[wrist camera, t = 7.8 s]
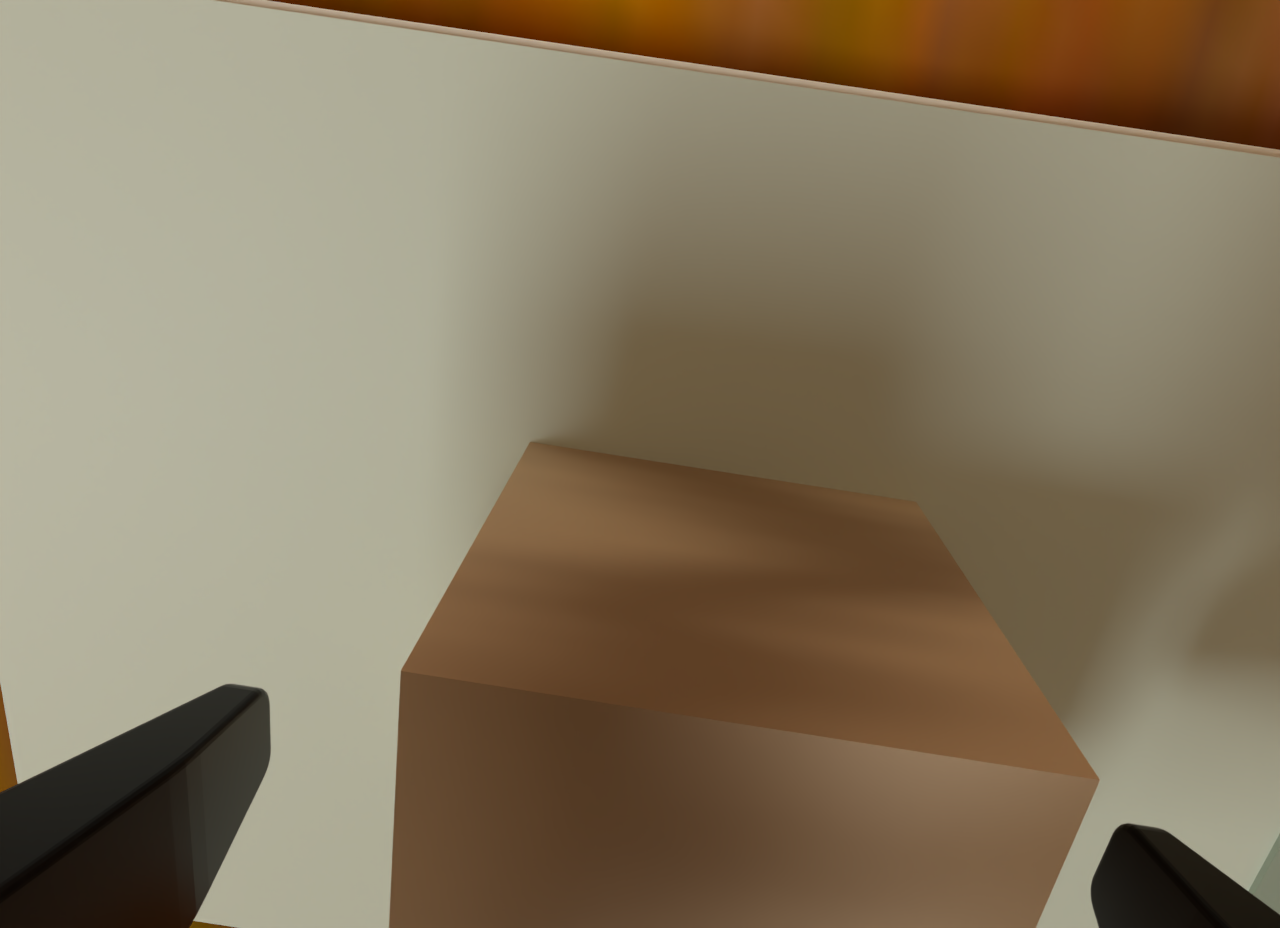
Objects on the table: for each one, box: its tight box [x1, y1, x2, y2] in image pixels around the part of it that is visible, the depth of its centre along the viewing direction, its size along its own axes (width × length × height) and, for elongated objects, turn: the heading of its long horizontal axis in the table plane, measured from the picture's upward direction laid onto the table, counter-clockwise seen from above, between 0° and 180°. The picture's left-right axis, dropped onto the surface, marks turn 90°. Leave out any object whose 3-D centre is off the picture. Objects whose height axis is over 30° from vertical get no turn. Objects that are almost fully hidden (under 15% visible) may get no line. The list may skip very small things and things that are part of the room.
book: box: [0, 0, 1280, 928], centre depth 12 cm, size 20×14×3 cm
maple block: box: [389, 442, 1100, 928], centre depth 9 cm, size 5×5×5 cm
